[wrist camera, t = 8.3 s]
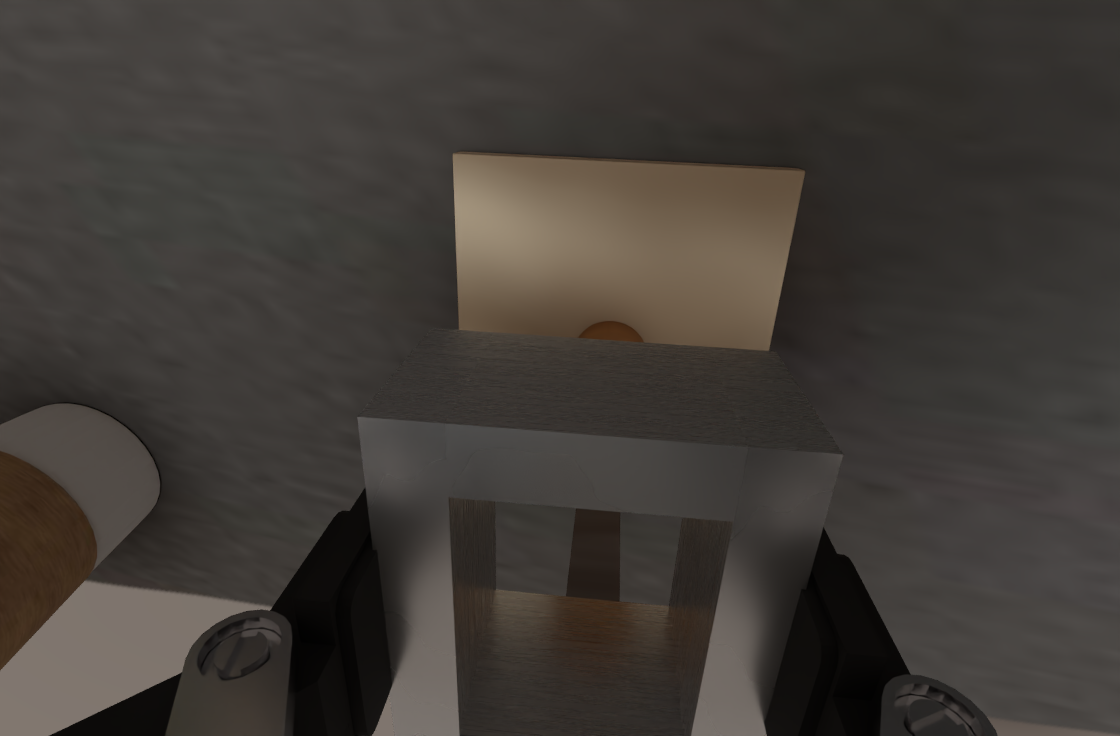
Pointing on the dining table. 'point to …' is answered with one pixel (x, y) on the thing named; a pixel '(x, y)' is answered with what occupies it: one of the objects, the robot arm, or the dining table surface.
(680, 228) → the keeper
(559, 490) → the link
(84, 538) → the coffee cup
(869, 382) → the dining table surface
